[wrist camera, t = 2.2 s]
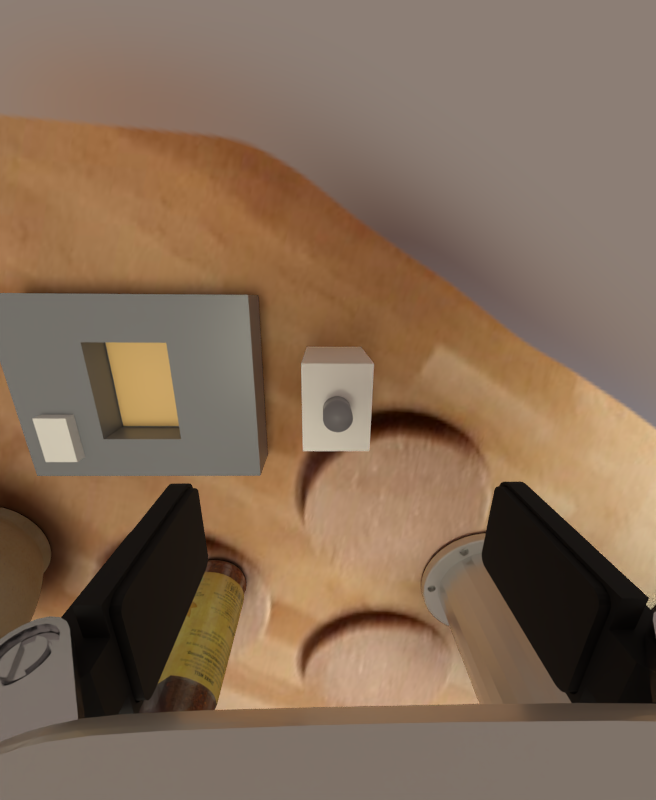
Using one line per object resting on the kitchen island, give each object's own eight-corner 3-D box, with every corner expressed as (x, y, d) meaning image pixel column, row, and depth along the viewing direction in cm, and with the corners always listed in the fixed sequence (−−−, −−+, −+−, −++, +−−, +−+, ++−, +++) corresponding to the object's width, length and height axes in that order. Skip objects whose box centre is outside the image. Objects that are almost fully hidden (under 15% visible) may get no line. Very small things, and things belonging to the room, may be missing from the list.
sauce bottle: (194, 550, 32) (10, 910, 13) (253, 562, 33) (159, 922, 14) (185, 596, 34) (15, 967, 15) (242, 607, 35) (145, 977, 16)
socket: (258, 295, 24) (245, 294, 20) (267, 454, 29) (258, 480, 25) (25, 293, 24) (-36, 292, 20) (70, 455, 29) (28, 481, 24)
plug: (361, 346, 26) (378, 369, 18) (358, 414, 28) (372, 463, 20) (306, 346, 26) (299, 369, 18) (307, 414, 28) (301, 463, 20)
